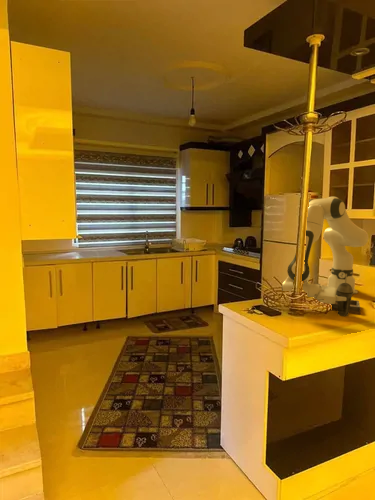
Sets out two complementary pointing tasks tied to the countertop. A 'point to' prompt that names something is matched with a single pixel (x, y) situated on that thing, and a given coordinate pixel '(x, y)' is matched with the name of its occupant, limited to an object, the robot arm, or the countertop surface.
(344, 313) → the beverage cup
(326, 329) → the countertop surface
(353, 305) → the dock plate
